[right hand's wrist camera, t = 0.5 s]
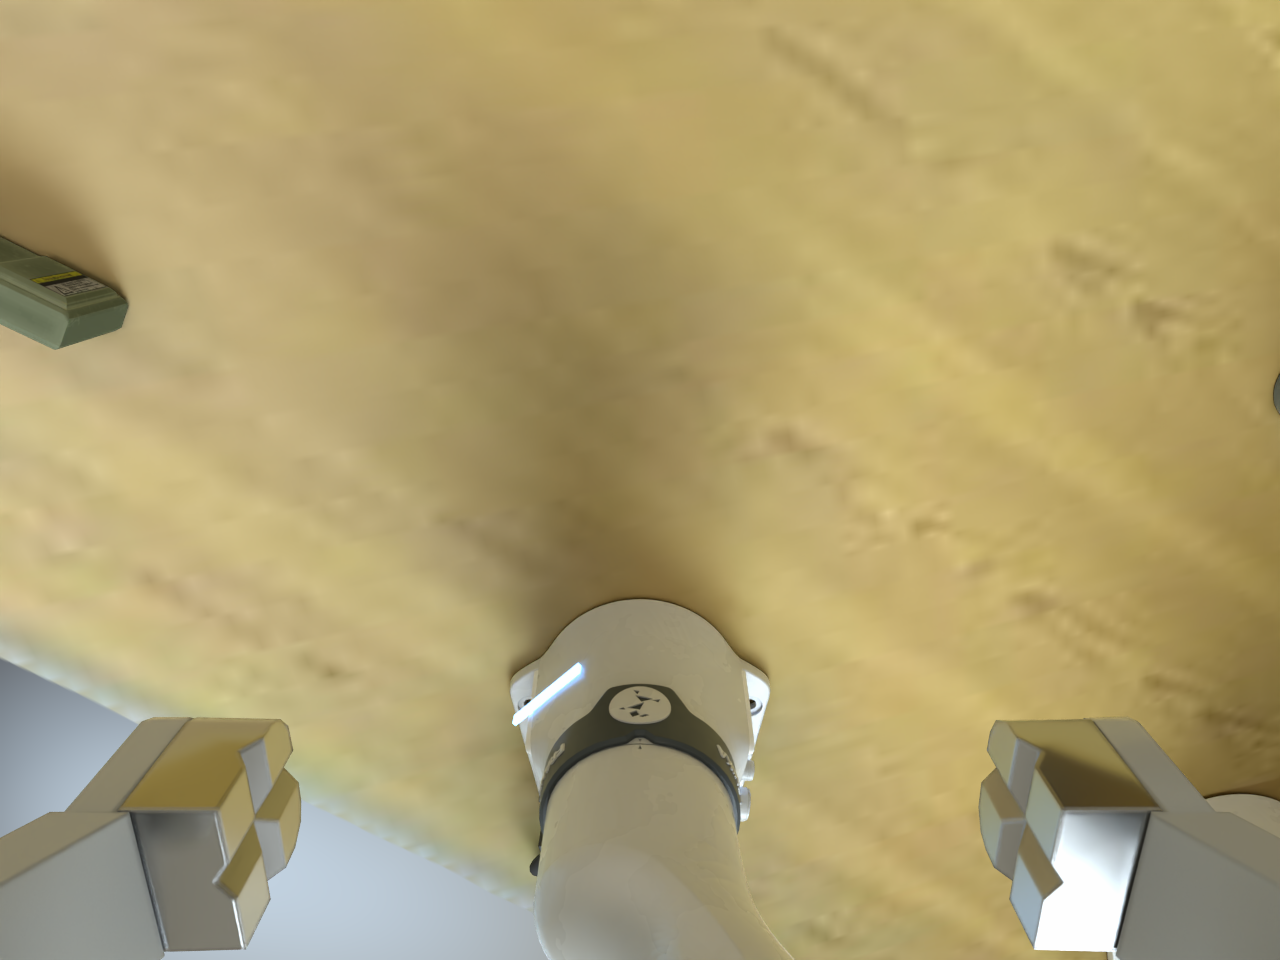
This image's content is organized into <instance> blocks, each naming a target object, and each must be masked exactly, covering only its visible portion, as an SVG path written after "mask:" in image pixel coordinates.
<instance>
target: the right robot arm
mask: <svg viewBox="0 0 1280 960" xmlns="http://www.w3.org/2000/svg"><path fill="white" fill-rule="evenodd" d="M510 696H511V699H512V703H513V706H514V709H515V713H516V714H515V715H514V718H513V724H514V725H515V726H516V725H517V724H519V727H520V730H521V733H522V737H523V740H524V744H525V747H526V752H527V754H528V757H529V761H530V764H531V768H532V771H533V774H534V778H535V781H536V785H537V788H538V792H539V802H540V808H539V811H540V812H539V819H540V826H541V832H540V839H539V849H540V852H541V853H540V855H538V856H537V857H536V858H535V859H534V860H533V861H532V863H531V865H530V872H531V873H532V875H534V876H537V883H536V890H535V898H534V920H535V927H536V931H537V935H538V938H539V941H540V944H541V946H542V948H543V950H544V952H545V954H546V956H547V957H548V959H549V960H794V958H793V957H792V956H791V955H790V954H789V953H788V952H787V951H786V949H785V948H784V947H783V946H782V945H781V944H780V943H779V941H778V940H777V939H776V938H775V936H774V935H773V934H772V933H771V931H770V930H769V928H768V927H767V925H766V924H765V922H764V921H763V919H762V918H761V916H760V914H759V912H758V910H757V909H756V907H755V905H754V902H753V900H752V897H751V894H750V890H749V886H748V883H747V879H746V875H745V871H744V867H743V863H742V858H741V853H740V848H739V843H738V837H737V834H738V831H739V826H740V821H746V820H747V819H748V816H749V811H750V801H751V798H750V790H749V789H747V787H743V785H744V781H752V779H753V776H754V761H753V760H751V757H752V754H753V752H754V747H755V744H756V740H757V737H758V734H759V730H760V727H761V723H762V720H763V716H764V713H765V710H766V706H767V703H768V699H769V696H770V682H769V679H768V677H767V676H766V675H765V674H764V673H763V672H762V671H761V670H759V669H758V668H756V667H754V666H753V665H751V664H749V663H748V662H746V661H744V660H742V659H740V658H739V657H738V656H737V655H736V654H735V653H734V651H733V650H732V649H731V647H730V646H729V645H728V643H727V642H726V641H725V639H724V638H723V636H722V635H721V634H720V633H719V632H718V631H717V630H716V629H715V628H714V627H713V626H712V625H711V624H710V623H709V622H707V621H706V620H705V619H703V618H702V617H700V616H699V615H697V614H695V613H694V612H692V611H690V610H688V609H685V608H683V607H680V606H678V605H675V604H671V603H668V602H663V601H657V600H649V599H631V600H623V601H617V602H612V603H609V604H605V605H602V606H600V607H597V608H595V609H592V610H590V611H588V612H586V613H585V614H583V615H581V616H580V617H578V618H577V619H575V620H574V621H573V622H571V623H570V624H569V625H568V626H567V627H566V628H565V629H564V630H563V631H562V632H561V633H560V634H559V635H558V637H557V638H556V639H555V641H554V642H553V643H552V645H551V646H550V648H549V649H548V650H547V651H546V653H545V654H544V655H543V656H542V657H541V658H540V659H538V660H536V661H534V662H532V663H531V664H529V665H527V666H526V667H524V668H523V669H521V670H520V671H518V672H517V673H516V674H515V675H514V676H513V677H512V679H511V682H510ZM528 699H531V702H530V703H528V702H526V700H528ZM749 699H752V700H754V702H752V703H750V701H749ZM292 751H293V747H292V742H291V737H290V732H289V728H288V725H286V724H285V723H284V722H283V721H282V720H281V719H247V718H201V717H197V718H191V717H153V718H150V719H148V720H145V721H142V722H141V723H140V724H139V725H138V726H137V728H136V729H135V730H134V731H133V732H132V733H131V735H130V736H129V737H128V738H127V739H126V740H125V742H124V743H123V744H122V745H121V746H120V747H119V749H118V750H117V751H116V752H115V753H114V754H113V756H112V757H111V758H110V759H109V760H108V761H107V763H106V764H105V765H104V766H103V767H102V768H101V770H100V771H99V772H98V773H97V774H96V775H95V777H94V778H93V779H92V780H91V781H90V782H89V784H88V785H87V786H86V787H85V788H84V789H83V791H82V792H81V793H80V794H79V795H78V796H77V798H76V799H75V800H74V801H73V802H72V803H71V805H70V806H69V807H68V808H67V809H66V810H65V811H64V812H49V813H47V814H45V815H43V816H41V817H39V818H37V819H36V820H34V821H32V822H30V823H28V824H26V825H24V826H22V827H20V828H18V829H16V830H14V831H12V832H11V833H9V834H7V835H5V836H3V837H1V838H0V960H161V959H162V958H163V957H164V952H171V951H206V950H240V949H246V948H247V946H248V944H249V942H250V940H251V938H252V936H253V934H254V932H255V930H256V928H257V926H258V924H259V922H260V920H261V918H262V916H263V914H264V912H265V909H266V907H267V905H268V903H269V901H270V893H269V887H268V882H267V881H268V880H269V879H271V878H272V877H273V876H275V875H276V874H278V873H279V872H280V871H282V870H283V869H284V868H286V866H287V864H288V862H289V859H290V857H291V855H292V853H293V851H294V849H295V846H296V841H297V836H298V832H299V827H300V823H301V796H300V790H299V783H298V781H297V780H296V779H295V778H294V777H293V776H292V775H291V774H290V773H289V772H288V771H287V770H286V769H285V768H284V766H285V764H286V762H287V760H288V759H289V757H290V755H291V753H292ZM987 751H988V753H989V755H990V757H991V759H992V760H993V762H994V764H995V766H996V768H995V769H994V770H993V771H992V772H991V773H990V774H989V775H988V776H987V777H986V778H985V779H984V780H983V781H982V783H981V791H980V799H979V818H980V829H981V834H982V838H983V841H984V845H985V848H986V851H987V853H988V855H989V857H990V860H991V862H992V864H993V866H994V868H996V869H997V870H998V871H1000V872H1001V873H1002V874H1004V875H1005V876H1007V877H1008V878H1009V879H1011V880H1012V881H1013V882H1012V887H1011V893H1010V901H1011V903H1012V905H1013V907H1014V910H1015V912H1016V914H1017V916H1018V918H1019V920H1020V922H1021V924H1022V926H1023V928H1024V930H1025V932H1026V934H1027V936H1028V938H1029V940H1030V942H1031V944H1032V946H1033V948H1034V949H1038V950H1073V951H1108V952H1116V954H1115V956H1116V957H1117V958H1119V959H1120V960H1280V838H1279V837H1277V836H1275V835H1273V834H1271V833H1269V832H1267V831H1266V830H1264V829H1262V828H1260V827H1258V826H1256V825H1254V824H1252V823H1250V822H1248V821H1246V820H1244V819H1243V818H1241V817H1239V816H1237V815H1235V814H1233V813H1231V812H1215V810H1214V809H1213V808H1212V807H1211V806H1210V805H1209V803H1208V802H1207V801H1206V800H1205V799H1204V798H1203V796H1202V795H1201V794H1200V793H1199V792H1198V791H1197V789H1196V788H1195V787H1194V786H1193V785H1192V784H1191V782H1190V781H1189V780H1188V779H1187V778H1186V777H1185V775H1184V774H1183V773H1182V772H1181V771H1180V770H1179V768H1178V767H1177V766H1176V765H1175V764H1174V763H1173V761H1172V760H1171V759H1170V758H1169V757H1168V756H1167V754H1166V753H1165V752H1164V751H1163V750H1162V749H1161V747H1160V746H1159V745H1158V744H1157V743H1156V742H1155V741H1154V739H1153V738H1152V737H1151V736H1150V735H1149V734H1148V732H1147V731H1146V730H1145V729H1144V728H1143V727H1142V725H1141V724H1140V723H1139V722H1137V721H1136V720H1133V719H1131V718H1129V717H1102V718H1084V719H1063V720H996V721H995V723H994V725H993V727H992V729H991V731H990V735H989V741H988V747H987Z"/></svg>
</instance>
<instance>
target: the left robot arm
mask: <svg viewBox="0 0 1280 960" xmlns="http://www.w3.org/2000/svg"><path fill="white" fill-rule="evenodd" d="M1205 800H1206V801H1207V802H1208V803H1209V805H1210V806H1211V807H1212V808H1213V809H1214V810H1215V812H1231V813H1233V814H1235V815H1237V816H1239V817H1241V818H1243V819H1244V820H1246V821H1248V822H1250V823H1252V824H1254V825H1256V826H1258V827H1260V828H1262V829H1264V830H1266V831H1267V832H1269V833H1271V834H1273V835H1275V836H1277V837H1279V838H1280V801H1277V800H1275V799H1272V798H1268V797H1264V796H1259V795H1251V794H1231V795H1223V796H1217V797H1212V798H1208V799H1205ZM1115 954H1116V952H1108V951H1107V956H1108V960H1120V959H1119V958H1117V957H1116V956H1115Z"/></svg>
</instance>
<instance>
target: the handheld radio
mask: <svg viewBox="0 0 1280 960" xmlns="http://www.w3.org/2000/svg"><path fill="white" fill-rule="evenodd" d="M127 308H128V303H127V302H126V301H125V300H124V299H123V298H122V297H121V296H119V295H117V293H116V292H115V291H114V290H113V289H111V288H110V287H108V286H106V285H103V284H101V283H99V282H97V281H95V280H93V279H91V278H89V277H87V276H85V275H83V274H81V273H79V272H77V271H75V270H73V269H71V268H69V267H67V266H65V265H63V264H61V263H59V262H57V261H55V260H53V259H51V258H49V257H47V256H38V255H36V254H34V253H32V252H30V251H28V250H26V249H24V248H22V247H20V246H18V245H16V244H14V243H12V242H10V241H8V240H6V239H4V238H2V237H0V324H1V325H3V326H5V327H8V328H10V329H12V330H14V331H16V332H18V333H20V334H22V335H24V336H27V337H29V338H31V339H33V340H35V341H37V342H39V343H41V344H44V345H46V346H48V347H50V348H52V349H55V350H56V349H59V348H63V347H66V346H69V345H72V344H75V343H78V342H81V341H84V340H88V339H91V338H94V337H97V336H100V335H103V334H106V333H109V332H113V331H115V330H117V329H119V328H121V327H122V324H123V321H124V317H125V314H126V311H127Z"/></svg>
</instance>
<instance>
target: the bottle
mask: <svg viewBox="0 0 1280 960" xmlns="http://www.w3.org/2000/svg"><path fill="white" fill-rule="evenodd" d="M1274 403H1275V406H1276V409H1277V411H1278V412H1279V414H1280V375H1279V377H1278V379H1277V381H1276V384H1275V388H1274Z"/></svg>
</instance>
